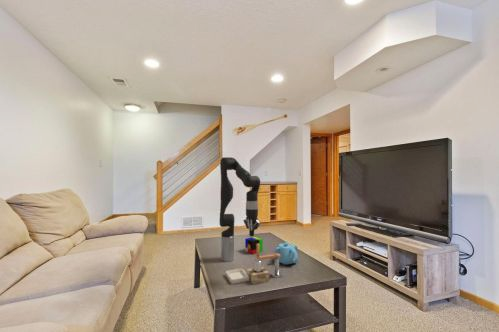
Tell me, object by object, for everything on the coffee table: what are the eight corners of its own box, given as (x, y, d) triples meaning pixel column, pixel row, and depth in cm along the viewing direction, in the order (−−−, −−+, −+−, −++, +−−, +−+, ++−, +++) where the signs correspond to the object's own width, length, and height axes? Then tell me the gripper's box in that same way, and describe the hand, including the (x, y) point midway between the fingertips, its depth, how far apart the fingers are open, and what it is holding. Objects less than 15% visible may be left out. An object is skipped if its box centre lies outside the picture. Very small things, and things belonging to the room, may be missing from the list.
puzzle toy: (245, 251, 188) (245, 238, 188) (254, 248, 194) (254, 236, 194) (252, 254, 180) (252, 241, 180) (262, 251, 186) (262, 239, 186)
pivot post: (270, 274, 144) (270, 256, 145) (278, 272, 147) (278, 255, 147) (274, 278, 139) (274, 259, 139) (283, 276, 141) (283, 258, 141)
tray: (225, 274, 143) (225, 271, 143) (242, 272, 147) (242, 268, 147) (231, 284, 131) (231, 280, 131) (249, 281, 135) (249, 276, 135)
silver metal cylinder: (253, 278, 139) (253, 259, 139) (259, 276, 141) (259, 258, 141) (255, 281, 135) (255, 262, 135) (262, 280, 137) (262, 261, 137)
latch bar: (255, 258, 140) (255, 243, 140) (278, 254, 146) (278, 240, 146) (258, 260, 136) (258, 244, 136) (281, 257, 142) (281, 242, 142)
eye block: (247, 276, 141) (247, 268, 141) (261, 274, 144) (261, 266, 144) (253, 284, 131) (253, 275, 131) (269, 281, 135) (269, 272, 135)
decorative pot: (271, 263, 162) (271, 244, 162) (279, 256, 176) (279, 238, 176) (293, 268, 154) (293, 248, 154) (300, 260, 168) (300, 241, 168)
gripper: (240, 207, 144) (239, 235, 144) (255, 209, 135) (255, 239, 135) (248, 206, 150) (248, 233, 149) (263, 208, 141) (263, 236, 140)
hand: (251, 236), depth 142 cm, fingers closed
